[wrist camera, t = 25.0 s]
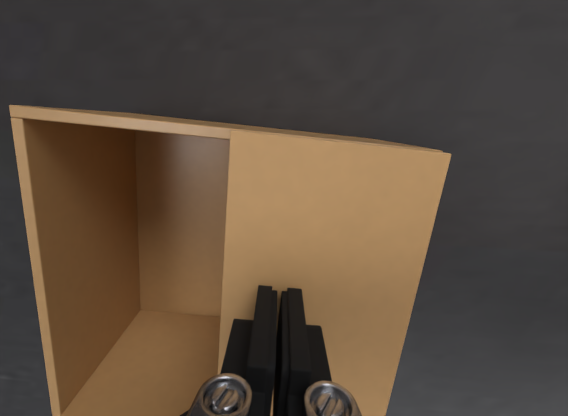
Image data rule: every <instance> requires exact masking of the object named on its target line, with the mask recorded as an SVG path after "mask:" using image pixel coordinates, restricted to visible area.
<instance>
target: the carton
mask: <svg viewBox="0 0 568 416" xmlns="http://www.w3.org/2000/svg"><path fill="white" fill-rule="evenodd" d="M9 109H10V116H11V117H12V118H11V123H12V130H13V137H14V144H15V152H16V159H17V166H18V173H19V180H20V187H21V194H22V202H23V209H24V216H25V223H26V230H27V237H28V244H29V252H30V259H31V266H32V273H33V280H34V287H35V294H36V302H37V309H38V316H39V323H40V330H41V337H42V345H43V352H44V359H45V366H46V373H47V380H48V387H49V395H50V402H51V409H52V415H53V416H180V415H181V414H183V413H184V412H186V411H188V410H189V409H190V407H191V405H192V403H193V401H194V399H195V397H196V395H197V393H198V391H199V389H200V388H201V386H202V385H203V383H204V382H206V381H207V380H208V379H209V378H211V377H213V376H215V375H218V357H219V338H220V319H221V300H222V281H223V262H224V243H225V224H226V205H227V186H228V167H229V148H230V131H232V130H233V131H243V132H252V133H262V134H271V135H281V136H290V137H300V138H309V139H319V140H328V141H337V142H347V143H356V144H366V145H375V146H385V147H394V148H404V149H413V150H423V151H432V152H442V151H441V150H436V149H430V148H424V147H418V146H412V145H406V144H400V143H394V142H388V141H383V140H377V139H370V138H360V137H351V136H342V135H332V134H323V133H314V132H304V131H295V130H285V129H276V128H267V127H257V126H248V125H238V124H229V123H220V122H210V121H201V120H191V119H182V118H173V117H163V116H154V115H144V114H135V113H122V112H108V111H93V110H79V109H64V108H49V107H35V106H20V105H9Z"/></svg>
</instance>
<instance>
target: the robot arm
mask: <svg viewBox="0 0 568 416" xmlns="http://www.w3.org/2000/svg"><path fill="white" fill-rule="evenodd" d="M276 333H277V336H276ZM272 396H273V416H362V414H361V412H360V410H359V407H358V405H357V403H356V400H355V399H354V397H353V395H352V394H351V393H350V392H349V391H348V390H347V389H346V388H345V387H343V386H341V385H340V384H338V383H335V382H332V378H331V373H330V368H329V363H328V358H327V353H326V348H325V343H324V338H323V332H322V328H321V326H319V325H306V320H305V311H304V303H303V295H302V289H298V288H287V291H282V293H281V301H280V310H279V319H278V328H277V290H272V286H264V285H258V291H257V298H256V305H255V313H254V320H246V319H234V320H233V323H232V327H231V332H230V336H229V340H228V344H227V348H226V352H225V356H224V360H223V364H222V368H221V372H220V374H218V375H215V376H213V377H211V378H209V379H208V380H207V381H206V382H204V383H203V385H202V386H201V388H200V389H199V391H198V393H197V395H196V397H195V399H194V401H193V403H192V405H191V407H190V409H189V410H188V411H186V412H184V413H183V414H181V415H180V416H270V413H271V404H272Z"/></svg>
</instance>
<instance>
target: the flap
mask: <svg viewBox="0 0 568 416" xmlns="http://www.w3.org/2000/svg"><path fill="white" fill-rule="evenodd" d="M450 158H451V154H449V153H442V152H432V151H423V150H413V149H404V148H394V147H385V146H375V145H366V144H356V143H347V142H337V141H328V140H319V139H309V138H300V137H290V136H281V135H271V134H262V133H252V132H243V131H233V130H232V131H230V148H229V167H228V186H227V205H226V224H225V243H224V262H223V281H222V300H221V319H220V338H219V357H218V374H220V372H221V368H222V364H223V360H224V356H225V352H226V348H227V344H228V340H229V336H230V332H231V327H232V323H233V320H234V319H246V320H254V313H255V305H256V298H257V291H258V285H264V286H272V290H277V328H278V319H279V310H280V301H281V293H282V291H287V288H298V289H302V295H303V303H304V311H305V320H306V325H319V326H321V328H322V332H323V338H324V343H325V348H326V353H327V358H328V363H329V368H330V373H331V378H332V382H335V383H338V384H340V385H341V386H343V387H345V388H346V389H347V390H348V391H349V392H350V393H351V394H352V395H353V397H354V399H355V400H356V403H357V405H358V407H359V410H360V412H361V414H362V416H385V415H386V411H387V407H388V403H389V399H390V395H391V391H392V387H393V383H394V379H395V375H396V371H397V367H398V363H399V360H400V356H401V352H402V348H403V344H404V340H405V336H406V332H407V328H408V324H409V320H410V316H411V312H412V308H413V304H414V300H415V296H416V292H417V288H418V284H419V280H420V277H421V273H422V269H423V265H424V261H425V257H426V253H427V249H428V245H429V241H430V237H431V233H432V229H433V225H434V221H435V217H436V213H437V209H438V205H439V201H440V197H441V194H442V190H443V186H444V182H445V178H446V174H447V170H448V166H449V162H450ZM276 336H277V333H276ZM270 416H273V396H272V404H271V413H270Z"/></svg>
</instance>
